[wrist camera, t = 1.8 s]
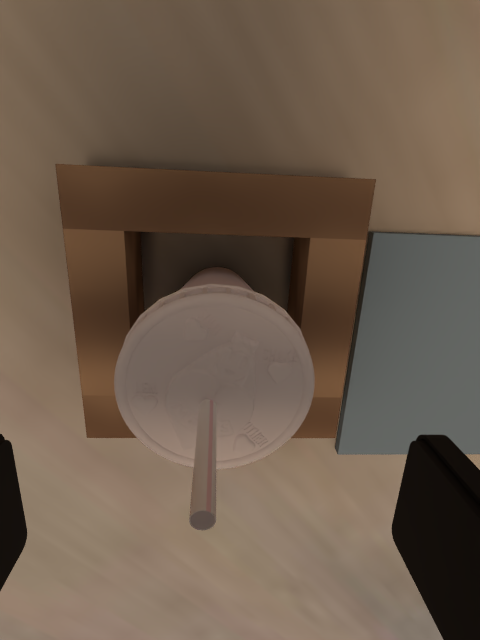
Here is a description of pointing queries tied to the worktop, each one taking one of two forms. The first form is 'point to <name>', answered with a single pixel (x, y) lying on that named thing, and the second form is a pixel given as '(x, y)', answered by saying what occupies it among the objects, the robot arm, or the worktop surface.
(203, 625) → the worktop surface
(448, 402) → the mat
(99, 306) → the wooden square frame
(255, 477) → the worktop surface
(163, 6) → the worktop surface
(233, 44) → the worktop surface
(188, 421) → the smoothie
